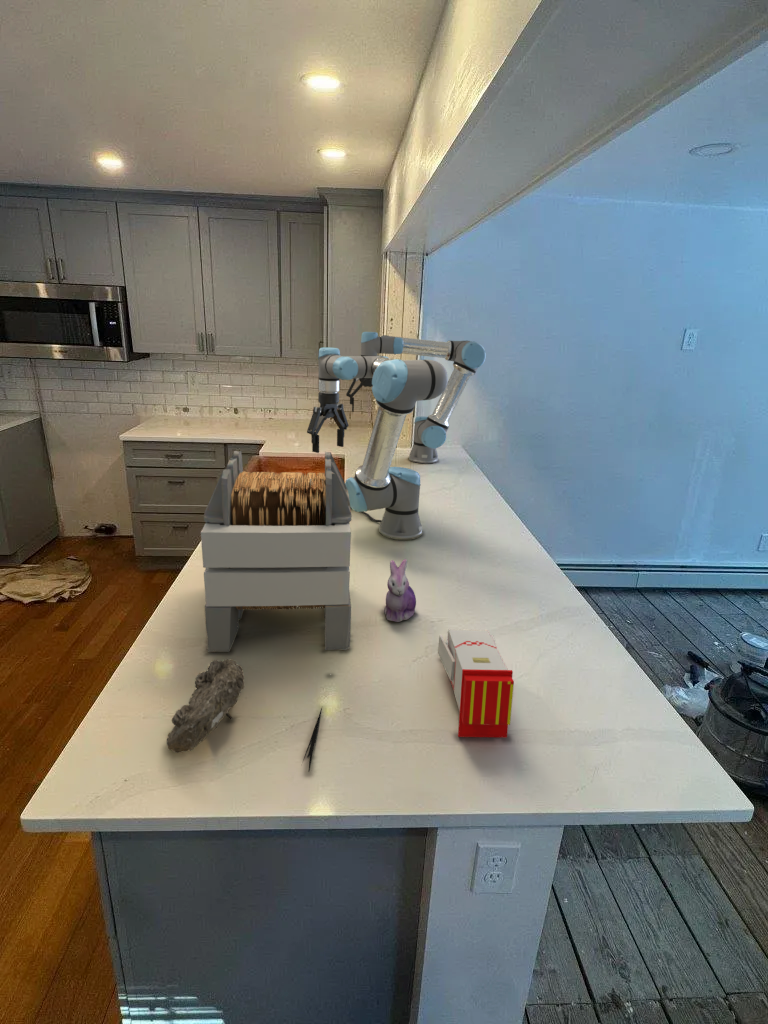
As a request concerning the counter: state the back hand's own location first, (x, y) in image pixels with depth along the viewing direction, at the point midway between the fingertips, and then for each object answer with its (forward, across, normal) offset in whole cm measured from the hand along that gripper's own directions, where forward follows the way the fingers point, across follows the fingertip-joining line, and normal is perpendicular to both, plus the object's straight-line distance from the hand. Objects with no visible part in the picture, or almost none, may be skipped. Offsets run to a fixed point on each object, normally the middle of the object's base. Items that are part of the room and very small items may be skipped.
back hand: (367, 411), depth 272 cm
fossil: (+27, -37, -182) cm, 188 cm away
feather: (+27, -16, -183) cm, 186 cm away
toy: (+27, +14, -175) cm, 178 cm away
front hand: (+3, -17, -64) cm, 66 cm away
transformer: (+27, -27, -144) cm, 149 cm away
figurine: (+27, +3, -143) cm, 146 cm away
